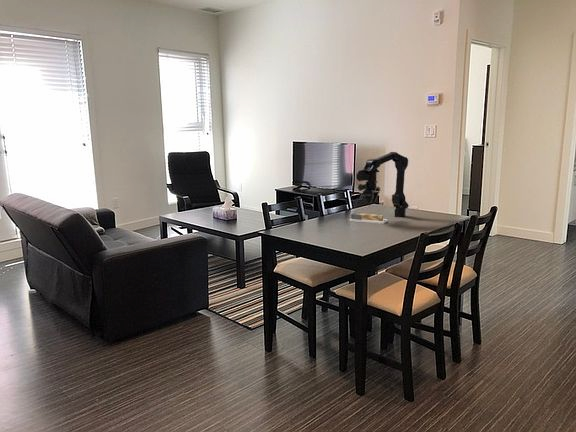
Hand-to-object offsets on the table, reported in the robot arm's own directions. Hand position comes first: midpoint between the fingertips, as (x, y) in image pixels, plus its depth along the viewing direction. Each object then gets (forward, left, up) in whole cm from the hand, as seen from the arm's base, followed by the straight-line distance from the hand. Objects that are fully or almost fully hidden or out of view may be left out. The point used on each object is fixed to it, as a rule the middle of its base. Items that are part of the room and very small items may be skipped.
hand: (371, 204), depth 294 cm
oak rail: (+2, +1, -10) cm, 10 cm away
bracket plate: (+2, +1, -11) cm, 11 cm away
